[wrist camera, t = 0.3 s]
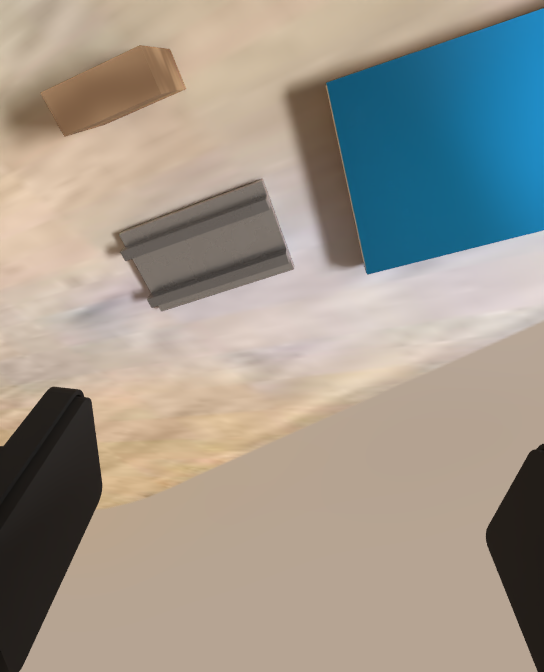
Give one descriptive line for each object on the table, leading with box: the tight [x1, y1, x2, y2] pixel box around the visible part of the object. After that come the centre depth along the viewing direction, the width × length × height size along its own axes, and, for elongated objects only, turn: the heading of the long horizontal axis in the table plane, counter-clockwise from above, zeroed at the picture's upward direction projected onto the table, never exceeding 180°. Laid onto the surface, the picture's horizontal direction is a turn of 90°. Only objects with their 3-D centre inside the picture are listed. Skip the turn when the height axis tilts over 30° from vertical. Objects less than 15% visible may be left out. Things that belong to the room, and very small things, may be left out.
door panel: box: [41, 45, 186, 137], centre depth 34 cm, size 3×8×8 cm, turn 110°
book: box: [326, 8, 544, 274], centre depth 37 cm, size 17×4×25 cm
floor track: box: [119, 179, 294, 311], centre depth 44 cm, size 15×9×2 cm, turn 110°
